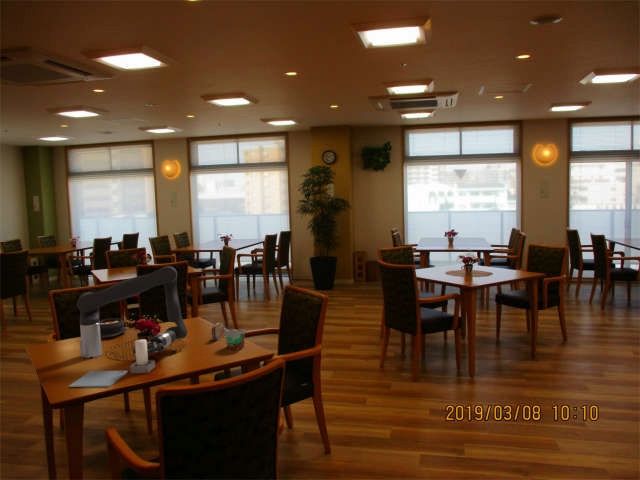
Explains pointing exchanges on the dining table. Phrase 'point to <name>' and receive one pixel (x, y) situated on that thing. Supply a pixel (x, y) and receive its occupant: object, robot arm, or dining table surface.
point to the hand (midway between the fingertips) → (141, 351)
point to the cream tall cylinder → (141, 352)
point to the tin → (218, 330)
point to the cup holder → (142, 367)
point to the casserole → (111, 327)
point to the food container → (235, 338)
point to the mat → (98, 379)
